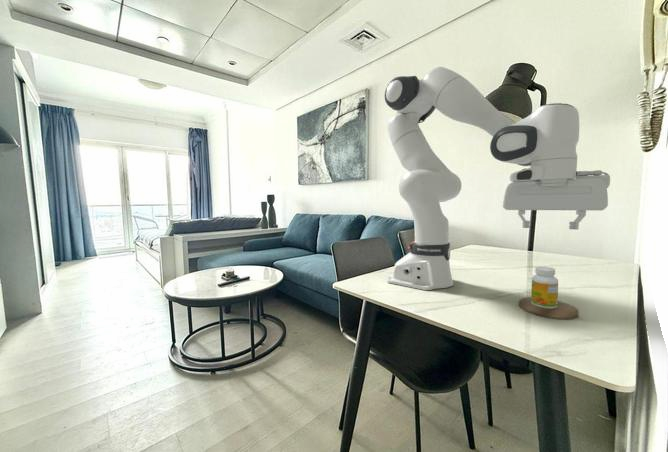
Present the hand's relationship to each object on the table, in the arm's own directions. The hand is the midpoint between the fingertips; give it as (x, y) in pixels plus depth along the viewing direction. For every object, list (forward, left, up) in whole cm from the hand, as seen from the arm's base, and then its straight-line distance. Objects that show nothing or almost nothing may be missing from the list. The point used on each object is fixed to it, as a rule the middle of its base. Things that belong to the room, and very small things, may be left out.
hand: (548, 228), depth 68 cm
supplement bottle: (0, 0, -20) cm, 20 cm away
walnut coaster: (0, 0, -21) cm, 21 cm away
